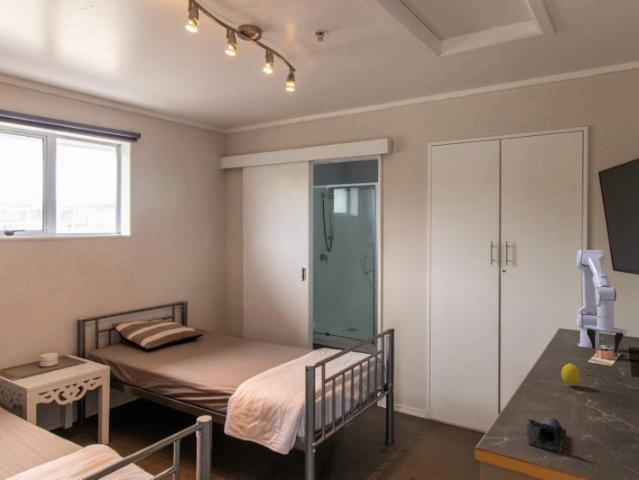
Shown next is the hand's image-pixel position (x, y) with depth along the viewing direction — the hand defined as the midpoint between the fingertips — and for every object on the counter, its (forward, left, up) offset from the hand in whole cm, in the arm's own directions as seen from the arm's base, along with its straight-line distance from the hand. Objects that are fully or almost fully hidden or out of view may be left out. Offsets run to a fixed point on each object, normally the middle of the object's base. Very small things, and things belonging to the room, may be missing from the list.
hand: (604, 350), depth 184 cm
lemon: (+38, -17, -5) cm, 41 cm away
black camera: (+84, -28, -5) cm, 89 cm away
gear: (0, 0, -3) cm, 3 cm away
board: (0, 0, -5) cm, 5 cm away
